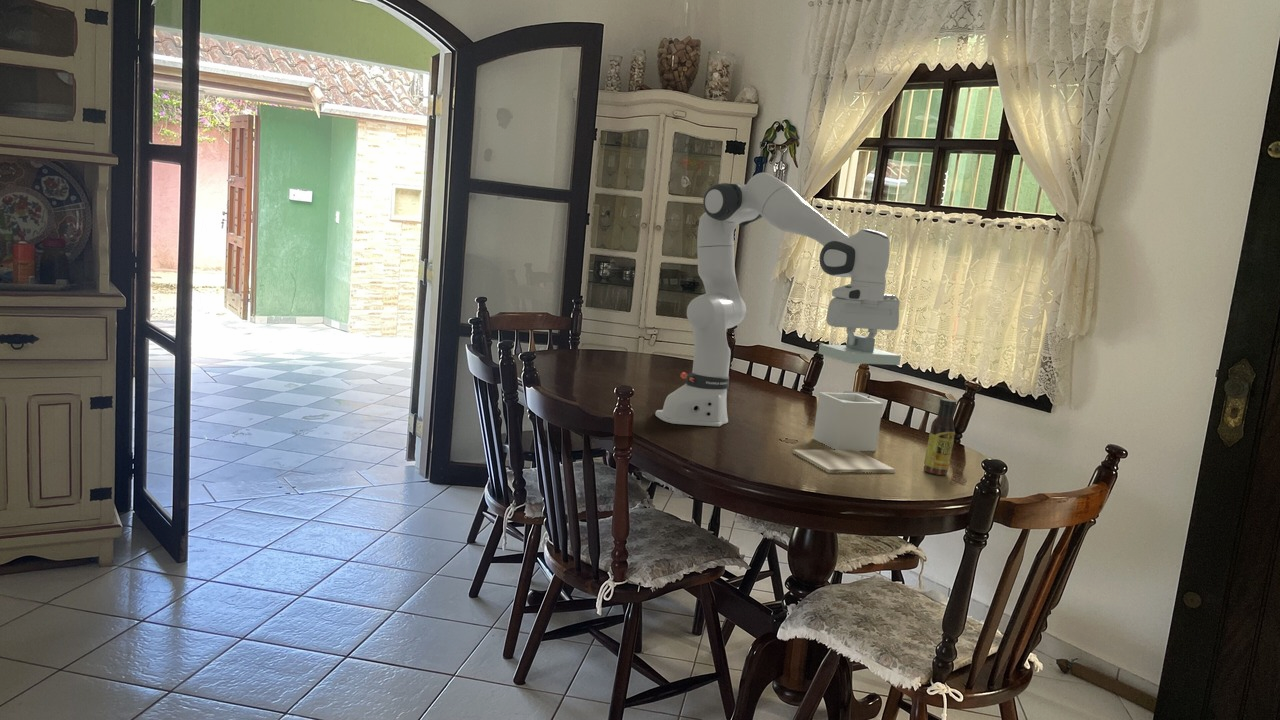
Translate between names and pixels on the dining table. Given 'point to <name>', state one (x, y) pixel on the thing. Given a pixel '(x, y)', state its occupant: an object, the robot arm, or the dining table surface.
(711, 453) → the dining table surface
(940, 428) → the sauce bottle
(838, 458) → the board
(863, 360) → the lid
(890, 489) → the dining table surface
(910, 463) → the dining table surface
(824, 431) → the box
